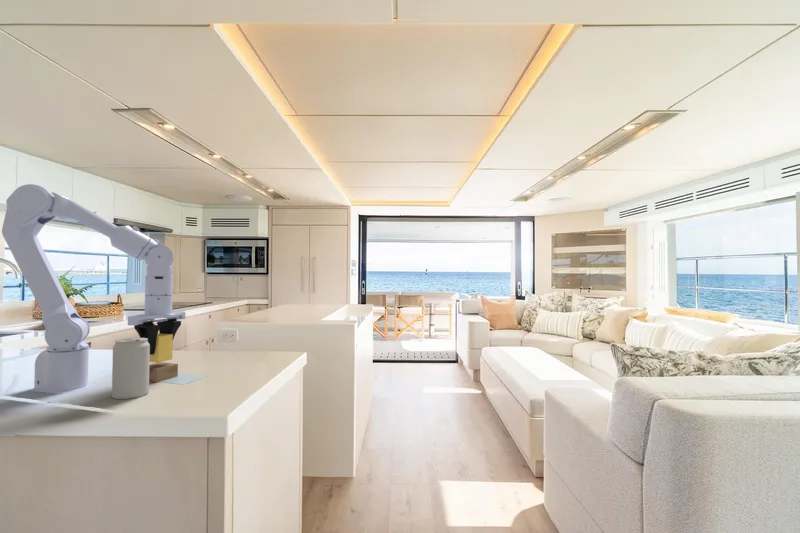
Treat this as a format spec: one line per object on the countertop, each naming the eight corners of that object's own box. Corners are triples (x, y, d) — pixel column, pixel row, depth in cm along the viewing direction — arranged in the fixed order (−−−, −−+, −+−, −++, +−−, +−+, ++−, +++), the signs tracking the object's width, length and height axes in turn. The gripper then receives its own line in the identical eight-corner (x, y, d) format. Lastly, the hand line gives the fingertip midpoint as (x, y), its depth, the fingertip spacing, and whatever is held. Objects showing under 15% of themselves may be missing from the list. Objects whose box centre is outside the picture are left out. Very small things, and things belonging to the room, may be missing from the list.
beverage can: (121, 404, 80) (122, 342, 81) (105, 398, 84) (107, 339, 84) (154, 396, 86) (156, 338, 86) (139, 391, 89) (140, 335, 89)
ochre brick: (144, 361, 97) (145, 335, 97) (159, 358, 101) (159, 333, 101) (158, 362, 96) (158, 336, 96) (172, 359, 100) (172, 334, 100)
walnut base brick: (136, 380, 96) (136, 367, 96) (157, 374, 102) (158, 362, 102) (156, 382, 94) (157, 369, 94) (177, 376, 100) (177, 363, 100)
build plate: (141, 382, 96) (141, 380, 96) (169, 374, 104) (169, 372, 104) (183, 386, 93) (183, 384, 93) (209, 378, 101) (209, 375, 101)
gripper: (145, 297, 90) (144, 359, 90) (195, 294, 104) (194, 348, 104) (120, 296, 92) (119, 357, 92) (173, 293, 106) (172, 346, 106)
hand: (157, 352), depth 98 cm, fingers closed on ochre brick, 4 cm apart
